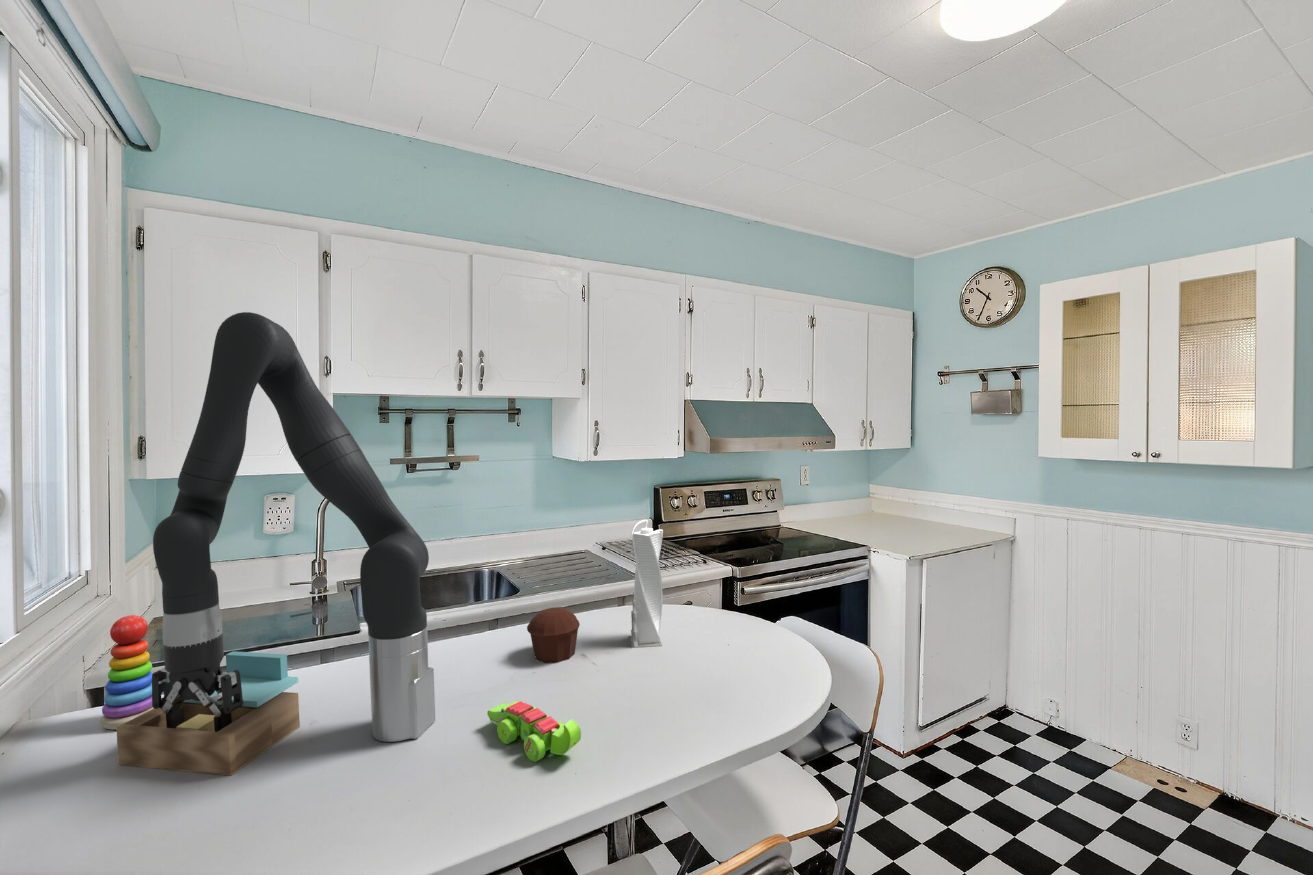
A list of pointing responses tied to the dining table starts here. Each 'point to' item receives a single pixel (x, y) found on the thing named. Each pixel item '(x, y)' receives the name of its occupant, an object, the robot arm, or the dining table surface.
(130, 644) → the stacking toy
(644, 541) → the skyscraper
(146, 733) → the wooden box
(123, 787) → the dining table surface
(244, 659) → the sliding lid
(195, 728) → the ochre block
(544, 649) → the muffin
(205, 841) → the dining table surface
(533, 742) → the toy crocodile
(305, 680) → the dining table surface
